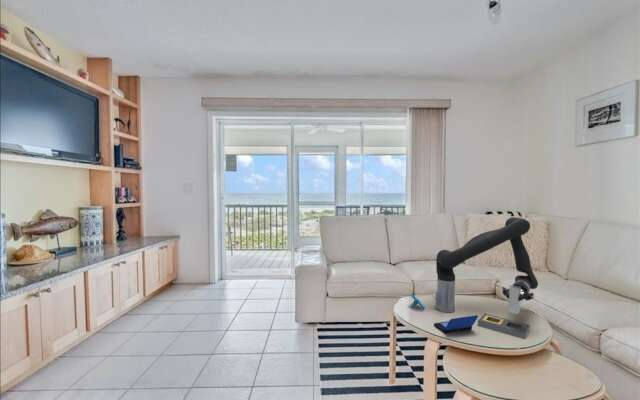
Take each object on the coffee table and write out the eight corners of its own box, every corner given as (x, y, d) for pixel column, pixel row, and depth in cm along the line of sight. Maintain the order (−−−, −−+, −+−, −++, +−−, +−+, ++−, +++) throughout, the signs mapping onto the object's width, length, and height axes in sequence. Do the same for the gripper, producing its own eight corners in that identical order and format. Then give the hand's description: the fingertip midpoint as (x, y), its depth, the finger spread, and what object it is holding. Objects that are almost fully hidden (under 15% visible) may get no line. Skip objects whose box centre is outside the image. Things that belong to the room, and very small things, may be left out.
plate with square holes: (477, 325, 156) (477, 320, 156) (484, 318, 165) (484, 313, 165) (525, 338, 142) (525, 333, 142) (529, 330, 151) (529, 324, 151)
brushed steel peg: (508, 311, 150) (509, 287, 150) (510, 309, 153) (511, 285, 152) (518, 314, 147) (519, 289, 147) (519, 311, 150) (520, 287, 150)
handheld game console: (459, 322, 160) (459, 304, 160) (478, 334, 147) (479, 315, 147) (432, 325, 156) (432, 307, 155) (450, 338, 143) (450, 318, 143)
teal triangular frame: (426, 309, 172) (413, 295, 174) (418, 316, 172) (405, 302, 174) (424, 304, 183) (411, 291, 185) (416, 311, 183) (404, 298, 185)
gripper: (504, 278, 165) (497, 286, 152) (537, 285, 156) (531, 293, 143) (504, 292, 165) (496, 301, 153) (536, 299, 156) (531, 309, 143)
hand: (513, 297), depth 148 cm, fingers closed on brushed steel peg, 4 cm apart
